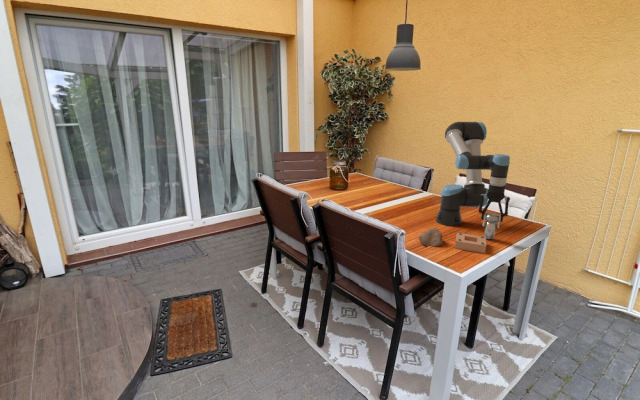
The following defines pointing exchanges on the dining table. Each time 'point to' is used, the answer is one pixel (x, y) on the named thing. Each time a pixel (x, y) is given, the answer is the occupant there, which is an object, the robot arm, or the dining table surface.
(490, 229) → the grey metal plug
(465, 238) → the housing
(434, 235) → the stone
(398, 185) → the dining table surface
